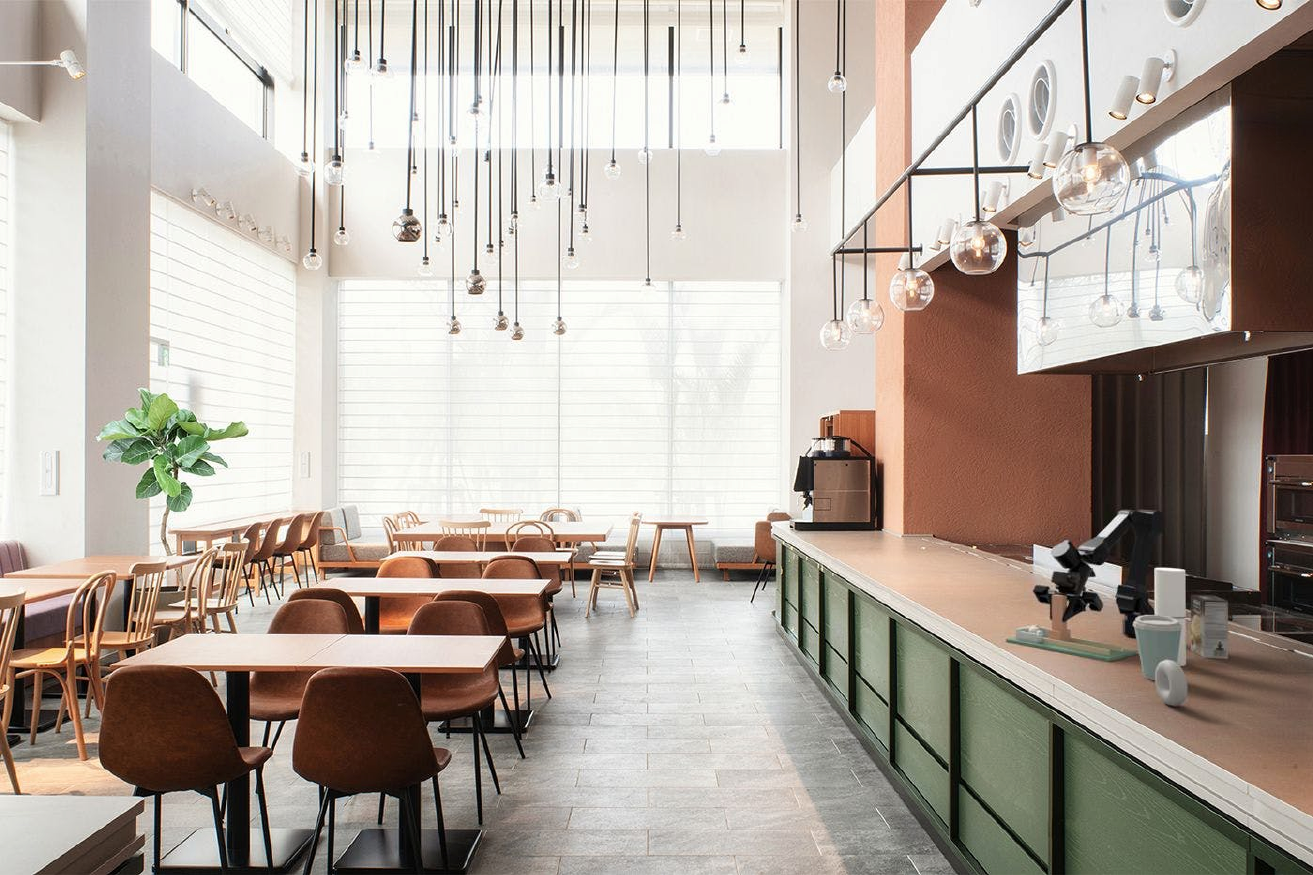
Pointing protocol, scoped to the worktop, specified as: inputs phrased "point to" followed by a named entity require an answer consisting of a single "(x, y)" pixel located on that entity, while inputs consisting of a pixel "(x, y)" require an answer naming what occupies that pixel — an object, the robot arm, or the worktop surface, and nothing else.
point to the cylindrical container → (1172, 602)
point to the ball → (1033, 630)
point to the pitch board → (1080, 648)
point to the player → (1059, 619)
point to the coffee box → (1209, 626)
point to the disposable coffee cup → (1156, 641)
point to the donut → (1171, 683)
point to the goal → (1032, 634)
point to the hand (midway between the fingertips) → (1056, 620)
